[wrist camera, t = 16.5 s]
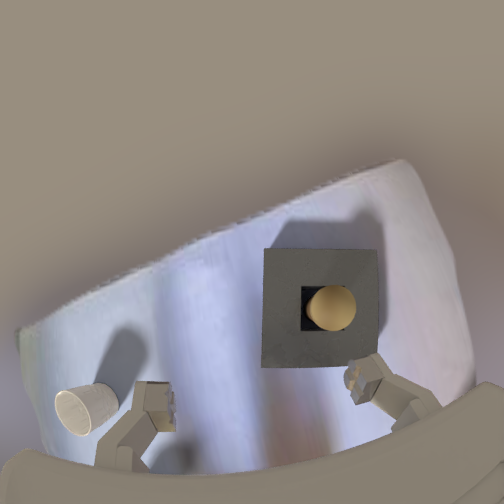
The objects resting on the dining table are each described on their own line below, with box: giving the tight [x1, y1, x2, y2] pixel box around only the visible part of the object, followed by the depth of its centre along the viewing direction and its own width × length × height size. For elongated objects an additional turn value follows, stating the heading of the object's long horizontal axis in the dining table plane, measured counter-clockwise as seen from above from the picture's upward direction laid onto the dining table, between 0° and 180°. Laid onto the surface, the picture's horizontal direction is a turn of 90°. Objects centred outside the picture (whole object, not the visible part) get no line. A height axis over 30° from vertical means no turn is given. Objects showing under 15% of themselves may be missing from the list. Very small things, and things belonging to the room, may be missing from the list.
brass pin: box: [303, 285, 356, 331], centre depth 34 cm, size 5×5×12 cm
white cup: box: [55, 383, 119, 436], centre depth 34 cm, size 8×8×10 cm
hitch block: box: [261, 248, 379, 368], centre depth 37 cm, size 16×16×5 cm
